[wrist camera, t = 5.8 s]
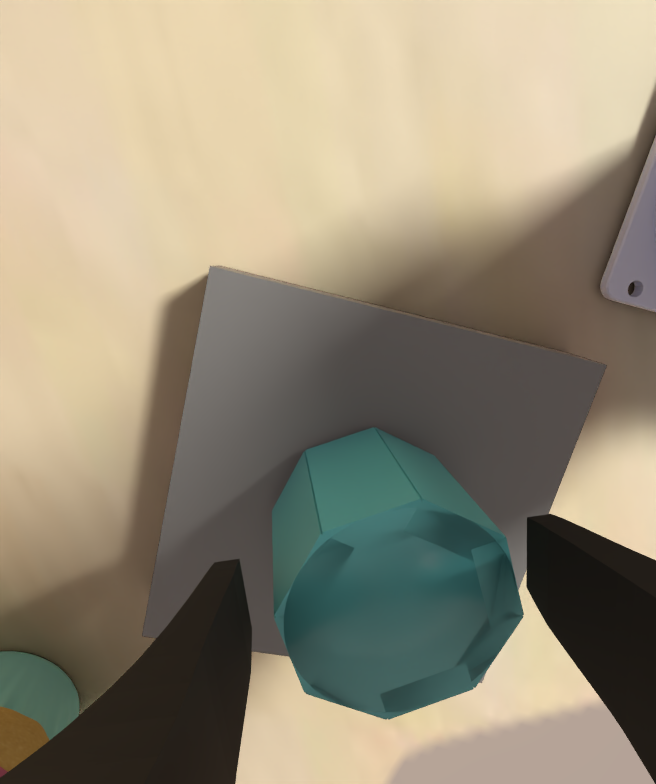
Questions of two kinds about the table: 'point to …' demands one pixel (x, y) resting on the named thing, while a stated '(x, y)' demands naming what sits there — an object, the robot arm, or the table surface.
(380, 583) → the cap
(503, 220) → the table surface
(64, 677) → the cupcake
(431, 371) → the stud stand
